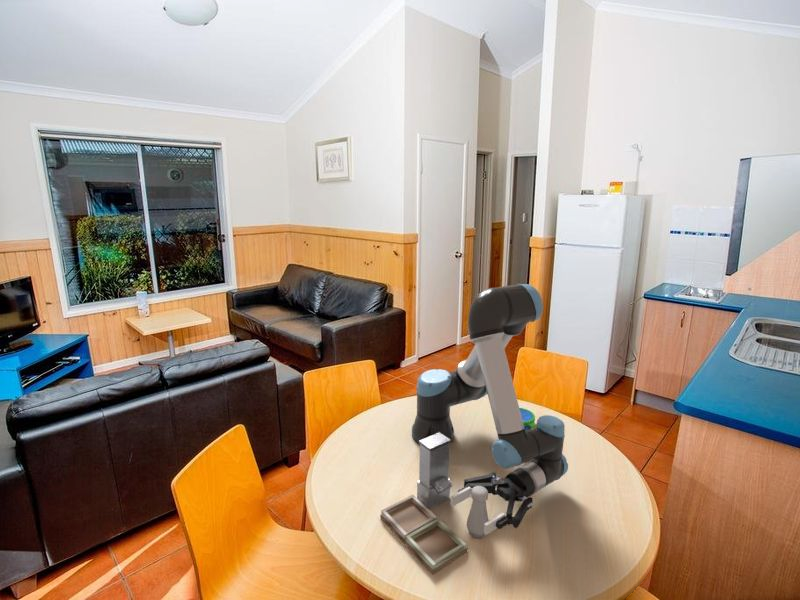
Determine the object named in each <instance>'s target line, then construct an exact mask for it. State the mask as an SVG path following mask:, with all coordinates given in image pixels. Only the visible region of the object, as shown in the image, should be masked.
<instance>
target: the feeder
mask: <svg viewBox="0 0 800 600" xmlns="http://www.w3.org/2000/svg"><path fill="white" fill-rule="evenodd" d="M451 443H452V441H451V440H450V439H449V438H447V437H446V436H444V435H443V434H441V433H440V432H439V433H436V434H434V435H431V436H429V437H427V438H424V439H422V440H419V443H418V444H419V470H418V471H419V473H418V474H419V478H418V479H419V480H417V483H416V484H417V485H416V498H417V499H418V500H419V501H420V502H421V503H422V504H424V505H425V506H426V507H427V508H428V509H429V510H430V509H431V508H433V507H434V506H437V505H439V504H440V503H442V502H444V501H446V500H448V499H451V488H452V487H453V483H452V482H451V479H450V478H449V474H450V473H449V470H450V445H451Z"/></svg>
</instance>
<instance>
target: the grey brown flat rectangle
mask: <svg viewBox="0 0 800 600" xmlns="http://www.w3.org/2000/svg"><path fill="white" fill-rule="evenodd" d="M380 511H381V514H380V520H382V521H383V522H384V523H385V525H386V526H388V528H389V529H390V530H391V531H392V532H393V533H394V535H396V537H398V538H399V540H400V541H401V542H402V543H403V545H405V546H406V547H407V548H408V549H409V551H410V552H411V553H412V554H413V555H414V556H415V557H416V558H417V560H418V561H419V562H420V563H421V564H422V565H423V566H424V567H425V568H426V569H427V570H428V571H429V572H430V574H431V575H435V574H436V573H438V572H439V571H441V570H442V569H444V568H446V567H447V566H448V565H450V564H452V563H454V561H457V560H458V559H459V558H461V557H462V556H464V555H465V554H467V553H468V551H469V550H468V548H467V546H468V545H467V543H466V541H464V540H463V539H462V538H461V537H460V536H459V535H458V534H457V533H456V532H454V531H453V530H452V529H451V528H450V527H449V526H448V525H447V524H445V523H444V522H443V521H442V519H440V518H439V517H438V516H437V515H436V514H435V513H434V512H433V511H431V510H430V509H428V508H427V507H426V506H425V505H424V504H422V503H421V502H420V501H419V500H418V499H417V496H415V495H414V494H411V495H410V496H407V497H405V498H403V499H402V500H399V501H397V502H395V503H392V504H391V505H389V506H387V507H385V508H383V509H382V510H380Z"/></svg>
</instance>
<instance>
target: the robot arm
mask: <svg viewBox="0 0 800 600" xmlns="http://www.w3.org/2000/svg"><path fill="white" fill-rule="evenodd" d="M543 310H544V304H543V299H542V296H541V294H540V292H539V290H537V289H536V287H534V286H533V285H531V284H527V283H524V284H523V283H522V284H521V283H517V284H511V285H504V286H497V287H489V288H486V289H484V290H481V292H479V293H478V294H477V295H476V296H475V297H474V299H473V300H472V302H471V305H470V307H469V311H468V317H467V329H468V330H467V331H468V335H469V338H470V342H471V343H473V344H474V347H473V348H472V350H471V351H470V353H469V355H468V357H467V359H464V360H461V362H459V363H458V365H457V367H456V369H455V370H453V371H450V372H449V371H448V370H446V369H443V368H439V369H436V368H434V369H433V368H432V369H428V370H426V371H424V372H422V373H421V374H420V375H419V377H418V379H417V384H416V416H415V419H414V422H413V424H412V427H411V437H412V439H413V440H414V441H415V442H417V443H418V444H419V440H422V439H424V438H427V437H429V436H431V435H434V434H436V433H439V432H440V433H441V434H443V435H444V436H446V437H447V438H449V439H450V440H451V442H452V441H453V440H454V438H455V428H454V426H453V422H452V419H451V415H450V413H451V407H453V406H457V405H461V404H463V403H468V402H472V401H477V400H480V399H482V398H484V397H486V396H487V397H488V401H489V405H490V406H489V407H490V409H491V413H492V417H493V418H492V419H493V422H494V426H495V430H496V434H497V440H495V441H494V442H493V443H492V446H491V448H492V449H491V452H492V453H491V454H492V457H493V459H494V460H495V463H496V464H497V465H498V466H499V467H501V468H503V469H510V468H514V467H517V468H516V469H513V470H512V471H509V472H508V474H506V475H505V477H501V478H499V477H498V476H497V472H495V471H492V472H490V473H489V474H485V475H479V476H474V477H469V478H465V479H464V481H463V487H462V488H460V489H458V490H457V492H456V493H454V494H452V495H450V506H451V507H455V506H456V505H458V504H460V503H461V502H464V501H466V500H467V499H468V498H472V497H471V490H472V488H473V487H475V486H482V487H484V488H486V489H487V491H488V494H492V495H493V496H499V497H501V498H503V500H504V501H506V502H508V504H507V508H506V511H505V512H506V513H504V512H501V513H499V514H498V515H496V516H495V517H493V518H490V520H489V519H488V520H489V521H488V522H486V523H485V524H484V534H485V536H487V535H489V534H490V533H492V532H493V531H495V530H496V529H498V530H500V529H503V528H505V527H506V526H507V525H508V526H509V525H512V527H513V528H514V529H518V528H519V527H520V524H521V522H522V521H523V519H524V517H525V516H526V513H527V512H528V511H529V510H531V509H532V508H533V498H532V497H531V496H533V495H534V494H536V493H538V492H539V491H541V490H542V489H544V488H545V487H547V486H548V485H550V484H551V483H553V482H555V481H557V480H560V479H561V478H562V477H563V476H565V474H567V472H568V469H569V463H568V462H567V461H568V460H567V458H566V456H565V455H564V454H563V449H564V440H565V432H566V431H565V430H566V428H565V422H563V421H562V419H560V418H559V417H558V416H557V417H556V416H553V415H549V414H547V415H546V414H545V415H541V416H539V417H538V419H537V420H536V423H535V424H536V428H533V429H530V430H527V431H525V429H524V425H523V421H522V417H521V413H520V409H519V408H520V406H519V401H518V397H517V393H516V390H515V386H514V382H513V377H512V374H511V369H510V365H509V361H508V357H507V354H506V350H505V348H506V347H507V345H508V344H509V342H510V341H511V339H512V338H513V337H515V336H518V335H520V334H521V333H522V332H524V331H523V330H524V329H525V327H526V326H527V325H528V324H529V323H534V322H536V321H538V320H539V319H540V318H541V317H542V314H543V312H544V311H543ZM523 464H524V465H523ZM516 502H521V504H520V506H519V508H518V509H517V511H516V513H515V514H514V516H513V511H514V506H515V503H516Z"/></svg>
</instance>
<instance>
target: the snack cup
mask: <svg viewBox="0 0 800 600" xmlns="http://www.w3.org/2000/svg"><path fill="white" fill-rule="evenodd" d="M519 409H520V413H521V417H522V421H523V425H524V429H525V431H527V430H530V429H533V428H536V424H537V423H536V422H535V421H536V416H535V414H534V412H532V411H531V410H528V409H527V408H523V407H519Z"/></svg>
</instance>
